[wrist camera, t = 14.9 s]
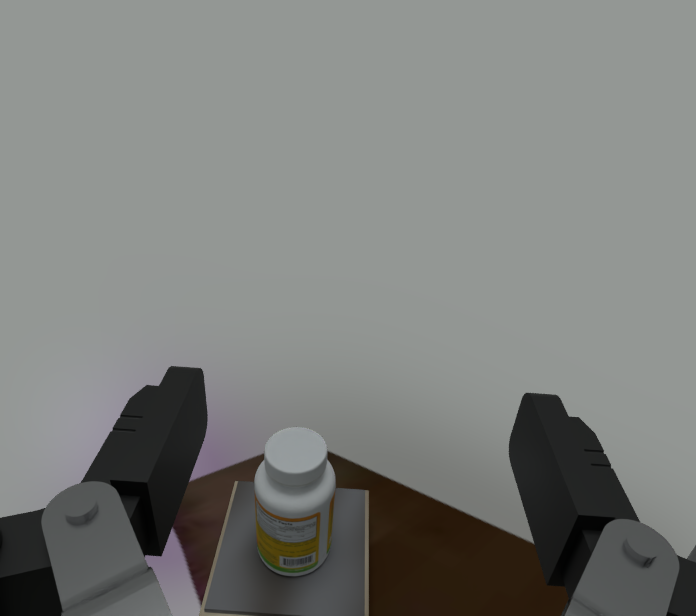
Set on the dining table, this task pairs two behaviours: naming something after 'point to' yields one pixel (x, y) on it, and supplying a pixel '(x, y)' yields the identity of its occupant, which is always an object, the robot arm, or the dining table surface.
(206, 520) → the dining table surface
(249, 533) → the plinth
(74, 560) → the robot arm
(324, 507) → the supplement bottle
